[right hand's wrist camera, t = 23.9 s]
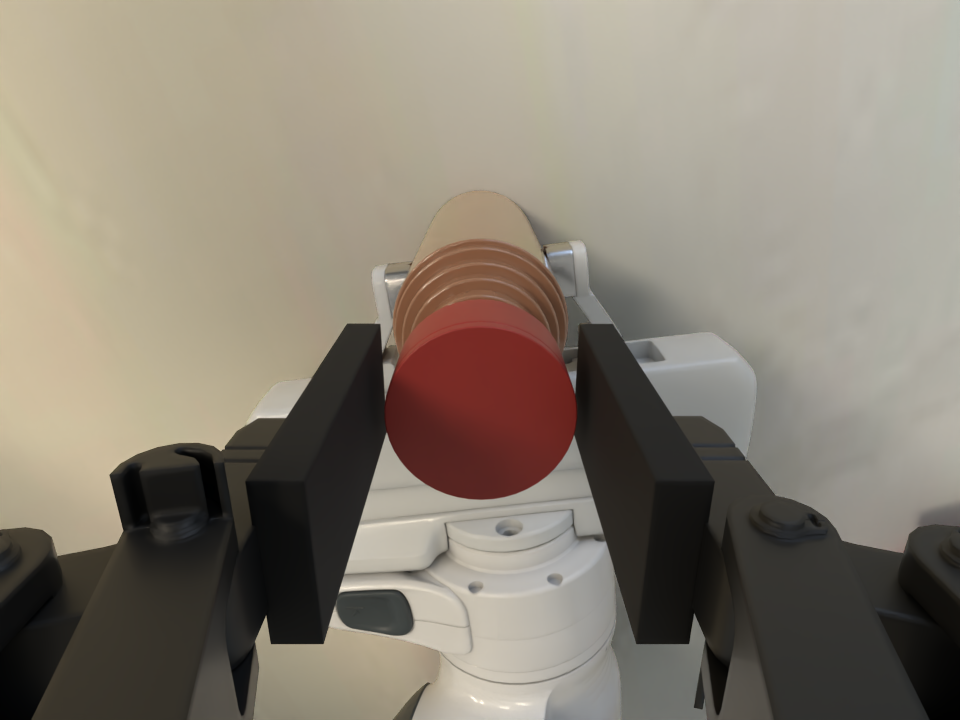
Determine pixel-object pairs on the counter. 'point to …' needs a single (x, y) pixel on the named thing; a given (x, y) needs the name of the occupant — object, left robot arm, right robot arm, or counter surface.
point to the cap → (480, 401)
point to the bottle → (480, 266)
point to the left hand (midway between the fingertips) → (476, 255)
